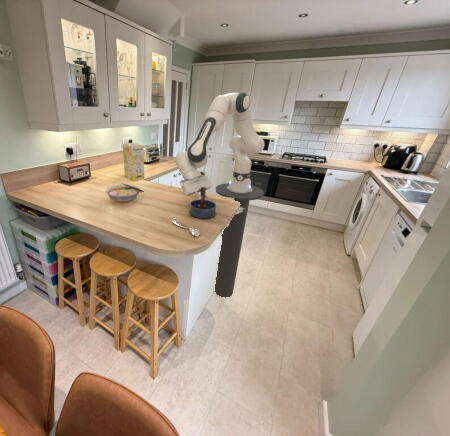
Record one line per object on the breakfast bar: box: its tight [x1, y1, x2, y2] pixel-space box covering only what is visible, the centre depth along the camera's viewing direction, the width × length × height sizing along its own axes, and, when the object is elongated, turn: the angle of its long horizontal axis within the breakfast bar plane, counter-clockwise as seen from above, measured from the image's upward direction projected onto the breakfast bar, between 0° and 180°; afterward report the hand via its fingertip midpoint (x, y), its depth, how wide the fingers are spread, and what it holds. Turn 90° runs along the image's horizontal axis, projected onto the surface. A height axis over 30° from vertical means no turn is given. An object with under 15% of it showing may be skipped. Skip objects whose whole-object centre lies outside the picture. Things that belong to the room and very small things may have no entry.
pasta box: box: [122, 142, 146, 182], centre depth 199 cm, size 18×10×28 cm, turn 32°
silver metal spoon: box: [171, 217, 201, 237], centre depth 121 cm, size 20×4×5 cm
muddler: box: [198, 187, 207, 209], centre depth 132 cm, size 4×4×14 cm
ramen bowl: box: [105, 182, 145, 203], centre depth 155 cm, size 25×23×8 cm
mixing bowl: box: [189, 199, 217, 219], centre depth 137 cm, size 15×15×6 cm
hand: (203, 198), depth 132 cm, fingers closed on muddler, 2 cm apart
